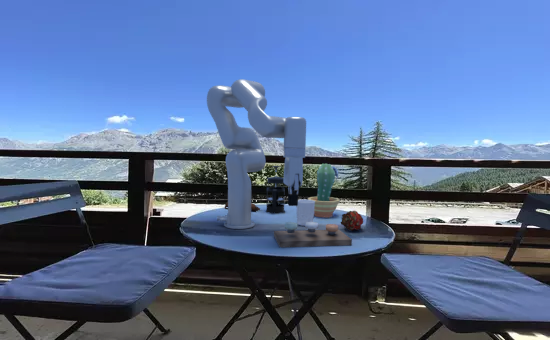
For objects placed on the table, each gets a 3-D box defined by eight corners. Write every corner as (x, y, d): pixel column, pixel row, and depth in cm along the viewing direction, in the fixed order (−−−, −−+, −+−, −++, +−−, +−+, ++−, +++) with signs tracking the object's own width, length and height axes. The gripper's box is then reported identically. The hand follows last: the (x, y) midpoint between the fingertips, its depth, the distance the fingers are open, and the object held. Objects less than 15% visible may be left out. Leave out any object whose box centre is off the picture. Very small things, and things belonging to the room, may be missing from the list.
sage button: (285, 233, 113) (286, 225, 112) (283, 230, 117) (283, 222, 117) (298, 233, 113) (298, 225, 113) (295, 230, 118) (295, 222, 117)
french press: (267, 208, 171) (268, 165, 169) (285, 209, 170) (286, 165, 168) (264, 213, 159) (264, 166, 157) (283, 214, 158) (284, 167, 156)
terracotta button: (327, 235, 115) (328, 227, 115) (324, 232, 119) (324, 224, 119) (339, 235, 116) (340, 227, 115) (335, 231, 120) (335, 223, 120)
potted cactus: (340, 219, 149) (342, 165, 147) (306, 218, 152) (307, 164, 149) (339, 212, 164) (340, 163, 162) (308, 211, 167) (309, 162, 165)
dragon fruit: (347, 237, 127) (351, 234, 138) (366, 226, 125) (369, 223, 136) (335, 218, 129) (340, 216, 140) (353, 207, 127) (357, 206, 138)
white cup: (313, 227, 136) (314, 203, 135) (294, 225, 137) (295, 202, 136) (315, 222, 143) (315, 200, 142) (297, 221, 145) (297, 199, 144)
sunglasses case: (262, 208, 171) (260, 198, 167) (257, 218, 165) (254, 207, 162) (232, 205, 177) (229, 196, 174) (226, 214, 172) (223, 204, 169)
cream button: (307, 233, 114) (307, 224, 113) (304, 230, 118) (304, 221, 118) (319, 233, 114) (319, 224, 114) (315, 229, 119) (316, 221, 118)
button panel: (279, 247, 108) (279, 241, 108) (274, 236, 121) (274, 231, 121) (351, 245, 112) (351, 239, 112) (338, 234, 125) (338, 229, 125)
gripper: (279, 152, 120) (278, 201, 121) (288, 153, 105) (286, 210, 107) (299, 152, 121) (298, 201, 123) (310, 154, 106) (308, 209, 108)
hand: (292, 205), depth 115 cm, fingers closed
